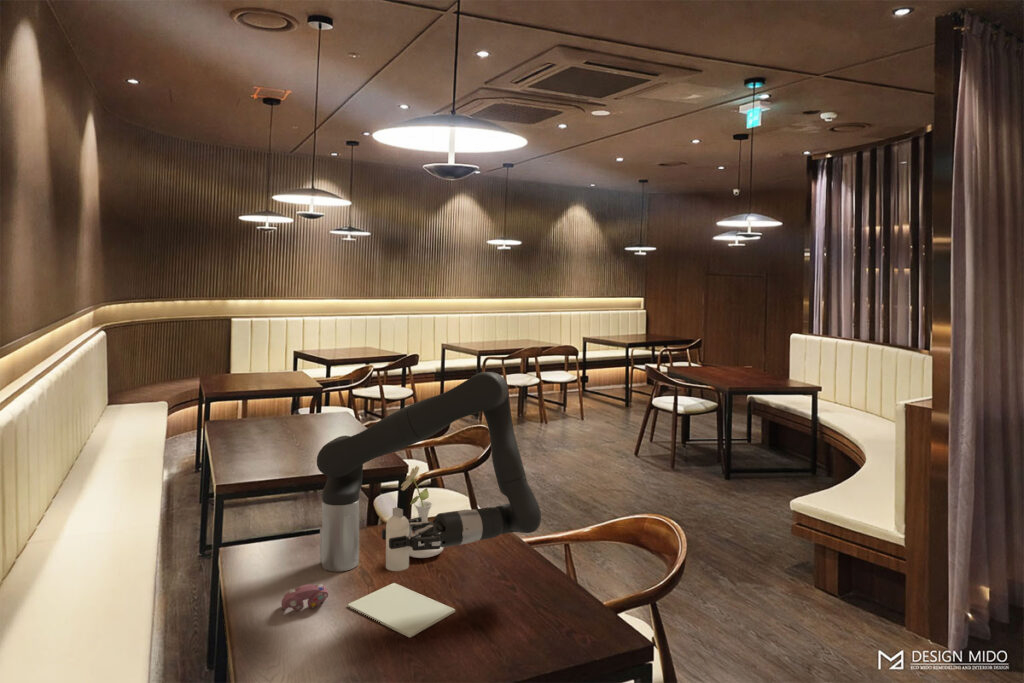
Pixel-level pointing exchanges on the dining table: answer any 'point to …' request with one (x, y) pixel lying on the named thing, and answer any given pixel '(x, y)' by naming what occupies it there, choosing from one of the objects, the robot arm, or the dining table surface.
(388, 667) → the dining table surface
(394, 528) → the bottle with rectangular cap
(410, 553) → the flower in vase
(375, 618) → the cream flat board
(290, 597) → the video game controller
